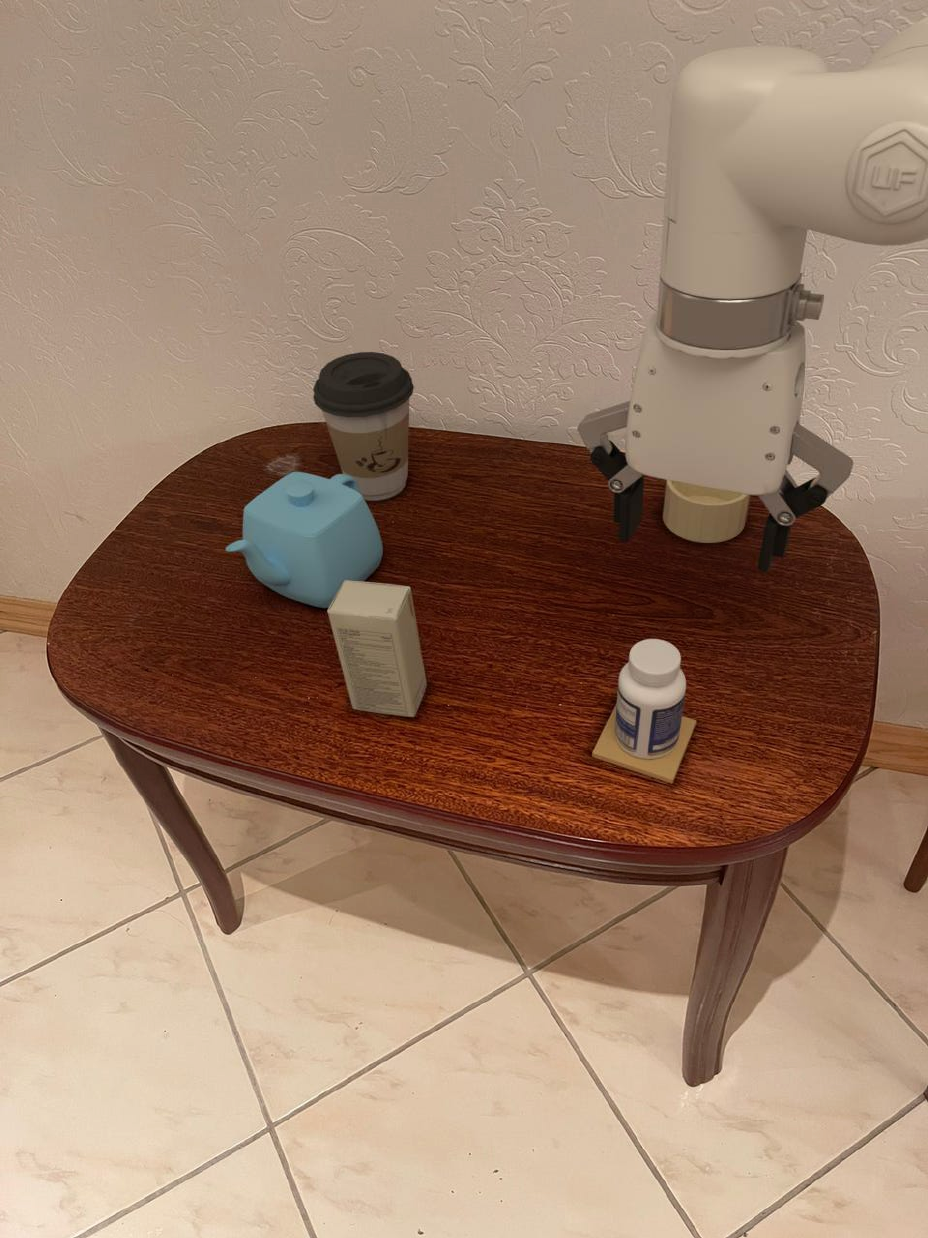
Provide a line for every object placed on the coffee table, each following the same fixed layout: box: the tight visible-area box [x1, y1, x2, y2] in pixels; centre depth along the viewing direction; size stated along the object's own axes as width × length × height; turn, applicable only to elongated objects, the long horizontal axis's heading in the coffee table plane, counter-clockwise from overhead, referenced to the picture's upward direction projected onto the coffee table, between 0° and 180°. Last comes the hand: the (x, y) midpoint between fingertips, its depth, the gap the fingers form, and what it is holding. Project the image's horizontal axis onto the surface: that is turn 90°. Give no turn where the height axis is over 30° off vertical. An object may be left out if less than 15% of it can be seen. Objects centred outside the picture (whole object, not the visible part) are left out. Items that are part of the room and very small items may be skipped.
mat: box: [591, 702, 697, 785], centre depth 76 cm, size 7×7×1 cm
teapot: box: [225, 471, 384, 609], centre depth 91 cm, size 12×18×12 cm
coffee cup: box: [312, 351, 415, 502], centre depth 103 cm, size 11×11×15 cm
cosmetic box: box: [326, 580, 428, 718], centre depth 78 cm, size 6×4×12 cm
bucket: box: [662, 480, 752, 544], centre depth 97 cm, size 9×9×5 cm
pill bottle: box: [615, 638, 687, 759], centre depth 73 cm, size 5×5×10 cm
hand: (696, 545), depth 62 cm, fingers open, 9 cm apart
